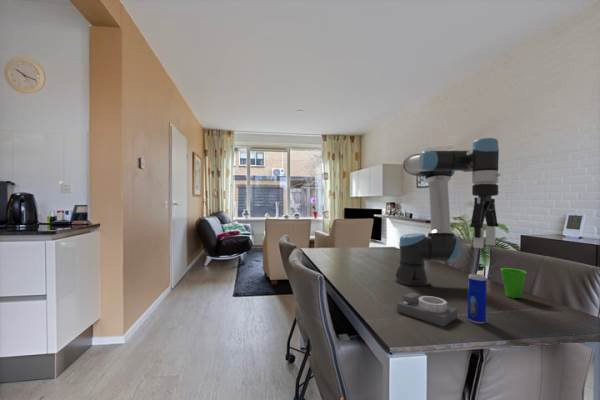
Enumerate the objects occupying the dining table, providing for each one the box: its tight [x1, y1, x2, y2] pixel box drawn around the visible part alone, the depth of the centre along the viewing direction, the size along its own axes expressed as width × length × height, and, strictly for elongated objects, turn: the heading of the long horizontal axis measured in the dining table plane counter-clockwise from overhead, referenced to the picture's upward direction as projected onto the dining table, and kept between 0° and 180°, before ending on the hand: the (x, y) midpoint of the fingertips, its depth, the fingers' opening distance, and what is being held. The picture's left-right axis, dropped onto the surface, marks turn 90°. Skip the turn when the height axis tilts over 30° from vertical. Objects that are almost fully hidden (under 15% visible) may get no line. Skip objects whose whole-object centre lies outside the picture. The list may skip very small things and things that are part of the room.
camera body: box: [396, 291, 458, 327], centre depth 101 cm, size 16×11×6 cm
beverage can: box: [467, 273, 487, 325], centre depth 96 cm, size 5×5×15 cm
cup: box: [499, 267, 528, 299], centre depth 122 cm, size 9×9×11 cm
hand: (484, 246), depth 99 cm, fingers open, 13 cm apart
